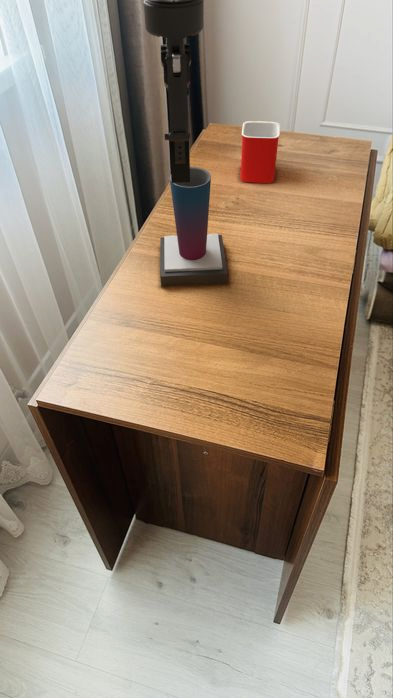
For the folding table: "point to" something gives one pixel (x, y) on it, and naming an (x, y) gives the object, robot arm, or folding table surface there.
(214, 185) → the folding table surface
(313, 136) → the folding table surface
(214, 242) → the scale
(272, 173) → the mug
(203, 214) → the cup
